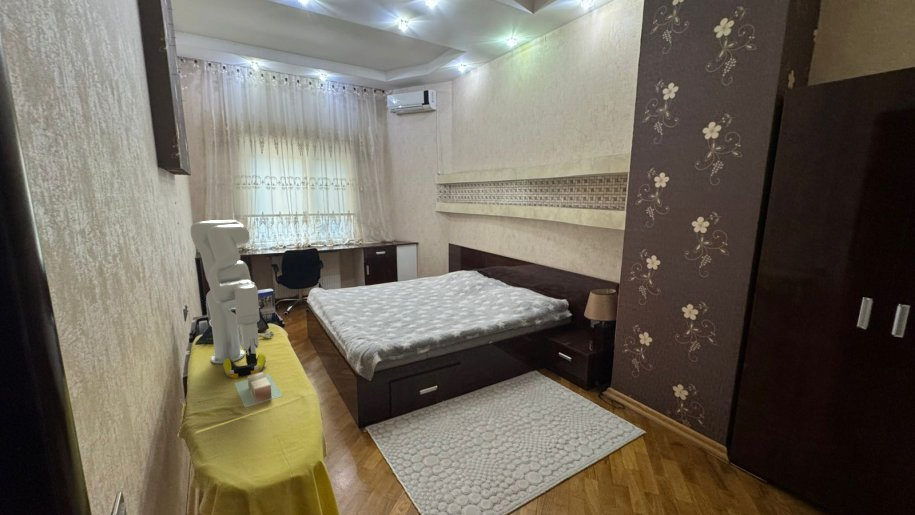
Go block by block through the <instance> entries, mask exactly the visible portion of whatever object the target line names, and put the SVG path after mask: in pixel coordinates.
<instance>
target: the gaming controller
mask: <svg viewBox="0 0 915 515" xmlns="http://www.w3.org/2000/svg"><path fill="white" fill-rule="evenodd" d="M256 360H257V362H256V363H254V364H250V365H247V364H245V365H240V366H239V365H236V364H235V363H234V362H232V361H231V359H226V360H225V361H224V364H222V365H223V366H222V367H223V371H224V373H225V375H226V376H227V378H231V379H237V378H241V377H248V375H252V374H256V373H260V372H262V370H263V368H264V367H265V364H266V362H267V361H266V360H267V358H266V355H265V354H264V353H259V354H258V356H256Z"/></svg>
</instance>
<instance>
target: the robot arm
mask: <svg viewBox="0 0 915 515" xmlns="http://www.w3.org/2000/svg"><path fill="white" fill-rule="evenodd" d="M190 226H191V227H190V236H191V240H192V242H193V244H194V246H195V248H196V249H197V250H198V252H199V254H200V257H201V261H202V266H203V271H204V276H205V279H206V282H207V283H208V287H209V291H208V292H207V293H206V296H205V298H206V304H207V308H208V310H209V313H210V319H211V320H210V322H211V330H212V339H213V349H214V354H213V355H211V357H210V361H211V363H213V364H216V365H220V364H222V365H223V364H224V361H225V360H226V359H231V361H232V362H233V363H234V362H236V361H239V360H241V359H243V358H244V357H245V362H246V365H250V364H254V363H256V362H257V360H256V359H257V351H256V349H258V348H259V345H260V344H259V332H258V324H257V323H258V322H259V321H260V304H259V292H258V291H259V290H258V287H257V285H256V284H255V282H253V281H252V278H251V274H250V270H249V267H248V265H247V263H246V262H245V261H243V260H241V254H240V252H239V248H238V246H237V245H246V244H248V243H249V241H250V232H249V229H248V228H247V226H246V225H245V224H243V223H241V222H240V221H238V220H235V219H223V220H222V219H221V220H203V221H202V220H201V221H197V222H194V223H192V224H191V225H190ZM234 308H235V312H233V311H232V310H231V309H234ZM241 348H242V349H241Z"/></svg>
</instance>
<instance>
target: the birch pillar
mask: <svg viewBox="0 0 915 515" xmlns="http://www.w3.org/2000/svg"><path fill="white" fill-rule="evenodd" d="M265 375H266V374H265V373H264V372H263V371H260V372H259V373H256V374H252V375H248V376H247V380H248V387H249V390H250V392H251V394H252V396H253V398H254V400H255V402H256V403H257V402H260V401H263V400H267V399H270V398H272V395H271V385H270V383H269V381H268V380H267V378H266V376H265Z"/></svg>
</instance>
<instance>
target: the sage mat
mask: <svg viewBox="0 0 915 515" xmlns="http://www.w3.org/2000/svg"><path fill="white" fill-rule="evenodd" d="M264 375H265V376H266V378H267V380H268V381H269V383H270V385H271V395H272V398H270V399H267V400H263V401H260V402H257V403H256V402H255V400H254V398H253V396H252V394H251V392H250V390H249V387H248V379H246V380H241V381H238V382H235V383H234V386H235V389H236V390H237V393H238V396H239V397H240V399H241V401H242V404H243V407H244V408H245V409H246V408H249V407H252V406H256V405H258V404H261V403H264V402H268V401H272V400H275V399H278V398H280V397H283V393H282V391H281V390H280V389H279V387H278V386H277V384H276V382H275V381H274V380H273V377H271V375H270V374H269V373H268V374H264Z"/></svg>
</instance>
